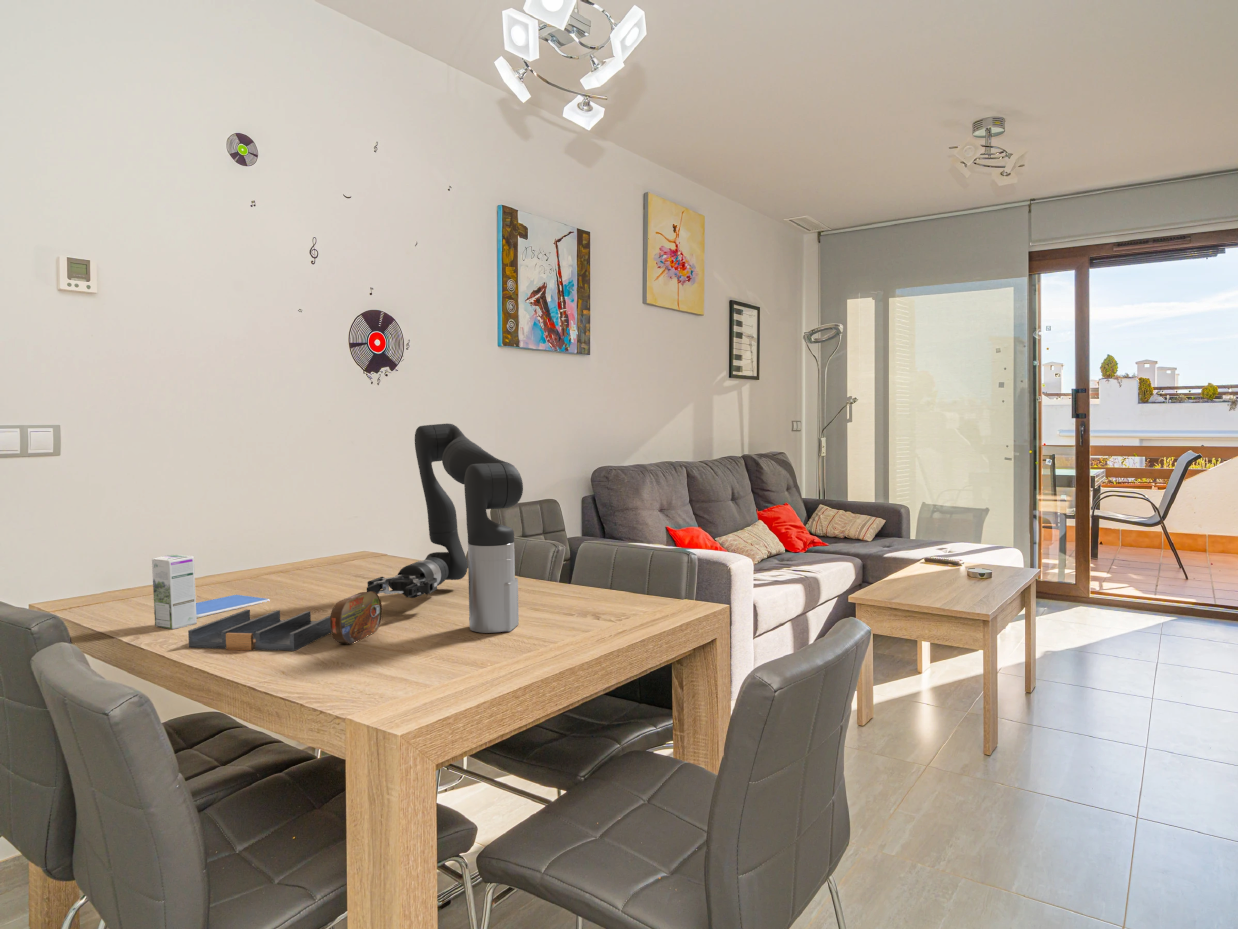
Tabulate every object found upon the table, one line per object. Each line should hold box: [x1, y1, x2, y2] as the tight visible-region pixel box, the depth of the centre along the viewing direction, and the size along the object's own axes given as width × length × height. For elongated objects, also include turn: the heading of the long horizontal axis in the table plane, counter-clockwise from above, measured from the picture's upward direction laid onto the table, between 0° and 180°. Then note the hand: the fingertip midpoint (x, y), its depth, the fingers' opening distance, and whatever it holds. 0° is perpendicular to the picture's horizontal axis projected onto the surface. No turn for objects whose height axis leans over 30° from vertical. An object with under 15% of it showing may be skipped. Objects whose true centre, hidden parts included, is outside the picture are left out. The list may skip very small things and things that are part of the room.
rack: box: [187, 609, 332, 652], centre depth 147 cm, size 21×18×3 cm
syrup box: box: [151, 554, 198, 630], centre depth 157 cm, size 6×6×14 cm
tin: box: [329, 591, 383, 645], centre depth 146 cm, size 15×3×8 cm, turn 168°
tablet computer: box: [196, 594, 271, 619], centre depth 175 cm, size 19×13×1 cm, turn 154°
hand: (388, 592), depth 160 cm, fingers open, 8 cm apart
